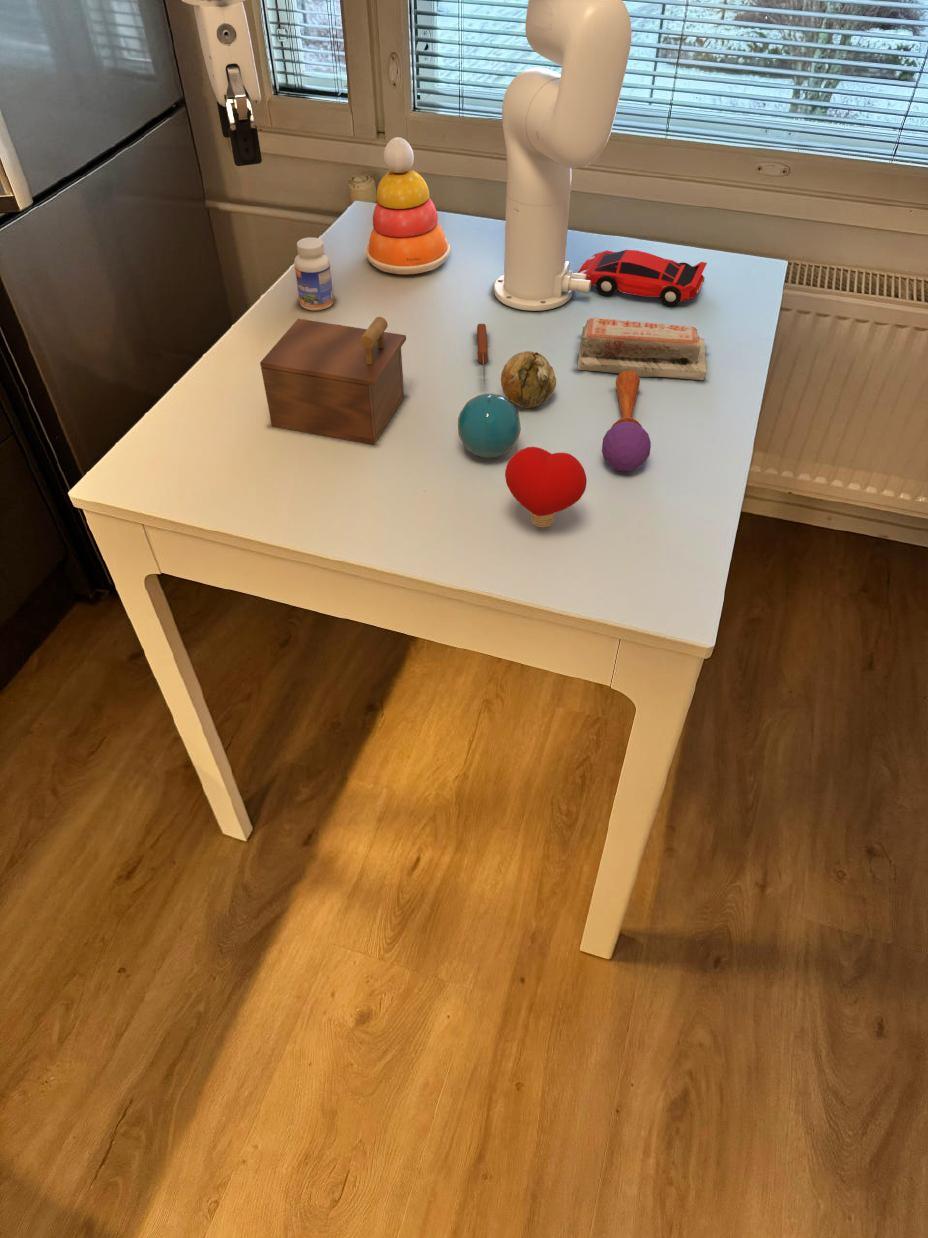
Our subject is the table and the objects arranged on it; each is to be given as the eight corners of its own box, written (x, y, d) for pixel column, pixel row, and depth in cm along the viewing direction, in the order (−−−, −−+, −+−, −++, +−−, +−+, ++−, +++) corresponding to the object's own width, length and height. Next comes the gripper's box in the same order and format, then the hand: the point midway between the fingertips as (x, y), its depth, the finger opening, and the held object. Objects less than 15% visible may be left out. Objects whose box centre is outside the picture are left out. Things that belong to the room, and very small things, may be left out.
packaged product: (579, 341, 127) (584, 306, 133) (576, 372, 130) (581, 337, 137) (711, 351, 125) (709, 315, 131) (704, 382, 128) (703, 346, 135)
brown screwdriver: (477, 333, 138) (477, 320, 136) (486, 332, 138) (486, 320, 136) (479, 390, 127) (479, 378, 126) (488, 390, 127) (489, 377, 126)
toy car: (584, 265, 153) (587, 235, 149) (704, 282, 149) (710, 251, 145) (569, 293, 146) (572, 263, 143) (695, 312, 142) (701, 281, 138)
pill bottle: (292, 305, 144) (283, 245, 137) (314, 291, 147) (306, 231, 140) (320, 314, 142) (312, 253, 135) (341, 300, 145) (334, 239, 138)
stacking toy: (448, 241, 160) (446, 120, 146) (452, 279, 150) (450, 153, 136) (367, 243, 159) (357, 122, 145) (365, 281, 149) (354, 156, 135)
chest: (404, 397, 126) (400, 339, 120) (374, 444, 119) (368, 385, 112) (307, 380, 129) (298, 323, 123) (271, 426, 122) (260, 367, 115)
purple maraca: (655, 367, 123) (657, 444, 109) (641, 405, 128) (641, 485, 113) (613, 356, 123) (609, 432, 109) (600, 395, 127) (595, 473, 113)
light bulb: (587, 515, 109) (596, 445, 101) (573, 552, 104) (580, 482, 97) (512, 499, 111) (515, 430, 103) (495, 535, 106) (497, 465, 99)
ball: (523, 436, 120) (526, 383, 114) (515, 474, 114) (517, 419, 108) (463, 431, 120) (462, 377, 115) (452, 467, 115) (451, 413, 109)
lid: (406, 339, 120) (404, 306, 116) (374, 386, 112) (371, 351, 109) (298, 322, 123) (293, 289, 119) (260, 367, 115) (254, 333, 112)
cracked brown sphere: (566, 392, 127) (570, 340, 121) (541, 422, 122) (545, 369, 116) (516, 379, 129) (519, 327, 123) (491, 407, 124) (492, 354, 118)
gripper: (261, -3, 94) (285, 171, 106) (236, -39, 105) (261, 122, 118) (187, 4, 92) (221, 179, 105) (170, -34, 104) (202, 129, 116)
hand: (242, 149), depth 111 cm, fingers open, 9 cm apart
